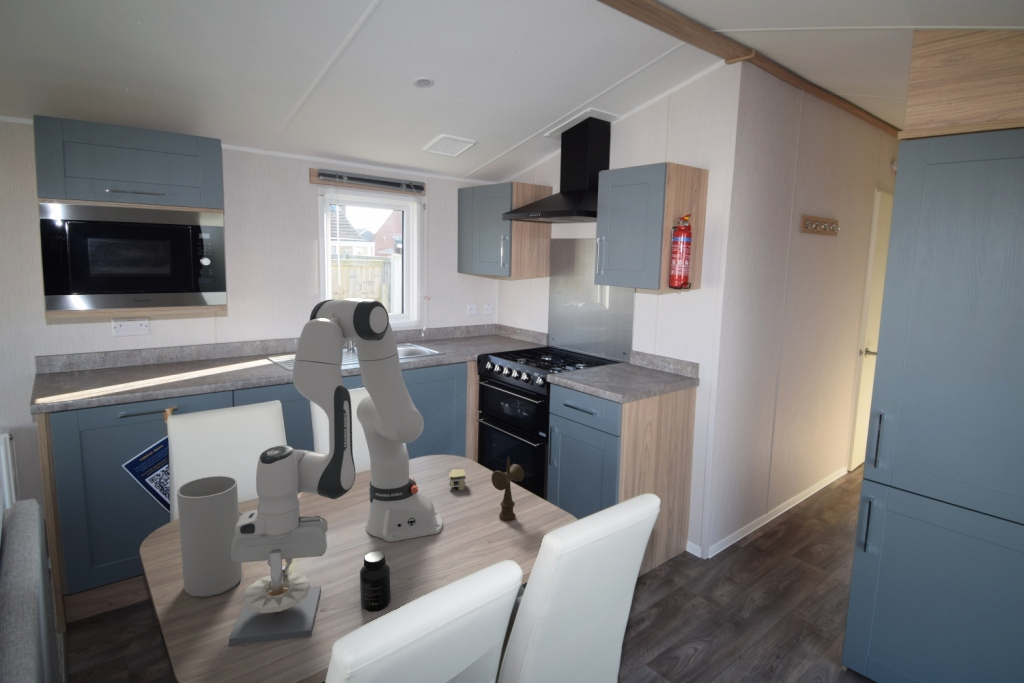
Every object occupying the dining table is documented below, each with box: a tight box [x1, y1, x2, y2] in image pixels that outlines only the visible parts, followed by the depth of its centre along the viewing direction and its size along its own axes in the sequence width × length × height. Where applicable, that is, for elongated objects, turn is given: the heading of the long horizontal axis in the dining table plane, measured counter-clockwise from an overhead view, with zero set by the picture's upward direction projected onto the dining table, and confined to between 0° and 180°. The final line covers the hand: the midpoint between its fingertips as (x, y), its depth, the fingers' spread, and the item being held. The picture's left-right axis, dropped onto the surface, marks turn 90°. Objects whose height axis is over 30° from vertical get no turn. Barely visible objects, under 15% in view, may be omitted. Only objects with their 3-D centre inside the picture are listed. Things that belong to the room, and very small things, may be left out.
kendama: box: [490, 456, 525, 521], centre depth 169 cm, size 6×10×20 cm, turn 140°
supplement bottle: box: [359, 550, 392, 613], centre depth 127 cm, size 7×7×12 cm
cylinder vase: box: [176, 475, 243, 598], centre depth 132 cm, size 12×12×25 cm
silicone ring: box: [243, 571, 311, 613], centre depth 121 cm, size 13×13×1 cm
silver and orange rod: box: [266, 549, 289, 614], centre depth 121 cm, size 6×6×14 cm
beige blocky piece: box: [448, 468, 466, 491], centre depth 193 cm, size 10×9×6 cm
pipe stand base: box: [228, 585, 322, 646], centre depth 122 cm, size 16×16×2 cm
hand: (281, 574), depth 126 cm, fingers closed
